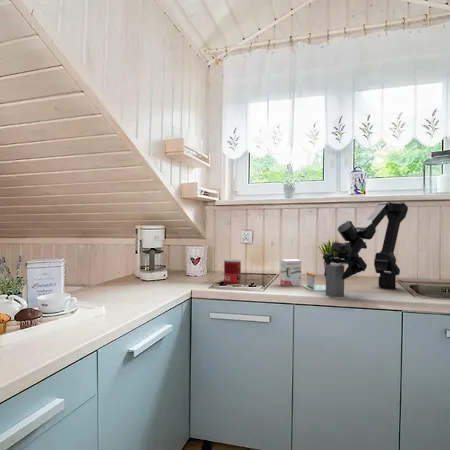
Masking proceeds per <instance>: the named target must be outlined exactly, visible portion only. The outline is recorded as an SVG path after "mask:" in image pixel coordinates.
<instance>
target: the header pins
mask: <svg viewBox="0 0 450 450" xmlns="http://www.w3.org/2000/svg"><path fill="white" fill-rule="evenodd" d="M315 276H316V274H315V273H313V272H311V271H306V285H307V287H309V288H311V289H314V285H315Z"/></svg>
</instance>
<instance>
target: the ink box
mask: <svg viewBox="0 0 450 450" xmlns="http://www.w3.org/2000/svg"><path fill="white" fill-rule="evenodd" d="M280 285H281V286H283V287H298V286H300V287H302V260H300V259H296V258H295V259H281V260H280Z"/></svg>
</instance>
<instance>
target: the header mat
mask: <svg viewBox="0 0 450 450" xmlns="http://www.w3.org/2000/svg"><path fill="white" fill-rule="evenodd" d="M301 287H303V288H304V289H306V290H307V291H310V292H326V284H314V289H311V288H309V287H307V284H301Z"/></svg>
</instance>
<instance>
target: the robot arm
mask: <svg viewBox="0 0 450 450" xmlns="http://www.w3.org/2000/svg"><path fill="white" fill-rule="evenodd" d="M408 211H409V208H408V205H406V203H405V202H390V201H385V202H384V201H383V202H382V201H381V202H380V203H378V205H377V207H376V208H375V209H374V211H373V212H372V213H371V214H370V215H369V216H368V217H367V219H366V220H365V221H362V222H360V223H358V224H357V225H356V226H355V225H354V224H353V222H352V220H347V221H345V222H344V223H342V224H340V225H339V226H338V227H337V231H338V233H339V235H341V238H342V239H343V240H344V241H345V242H336V241H335V242H333V243H332V246H331V251H332V252H334V253H336V254H335V255H336V256H337V257H335V255H334V254H332V253H324V255H323V256H322V259H323V260H324V261H325V263H326V264H325V266H326V265H330V263H338V264H342V265H344V266H345V265H346V266H347V267H346V269H345V270H344V274H343V276H342V279H343V280H344V281H345V280H346V279H348V278H350V277H352V276H353V275H356V274H359V273H362V272H365V270H366V269H367V266H368V264H366V262H365V260H364V259H363V258H362V257H361V256H360V255H359V253H360V252H361V250H362V249H364V250H365V249H367V248H368V246H367V242H365V241H364V240H366V241H367V240H369V241H370V240H372V239H373V237H374V236H375V234H376V232H377V230H376V228H377V227H378V225H379V224H380V223H381V222H382V221H383V219H384V218H385V217H386V218H387V224H386V225H387V226H386V230H385V234H384V239H383V244H382V248H381V251H379V252H376V253H375V255H374V260H373V265H374V269H375V273H376V274H379V275H378V277H377V278H378V279H377V280H378V281H377V282H378V283H377V285H378V287H379V288H380V289H390V290H391V289H393V290H397V286H396V284H397V283H396V280H397V278H396V276H399V275H400V273H401V269H400V268H399V266H398V265H397V264H396V263H397V262H396V261H397V258H396V256H395V248H396V243H397V240H398V239H397V238H398V236H399V235H398V234H399V229H400V224H401V223H402V222H403V220H405V219H406V216H407V214H408ZM323 276H324V277H325V278H326V267H325V270H324V273H323Z"/></svg>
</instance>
